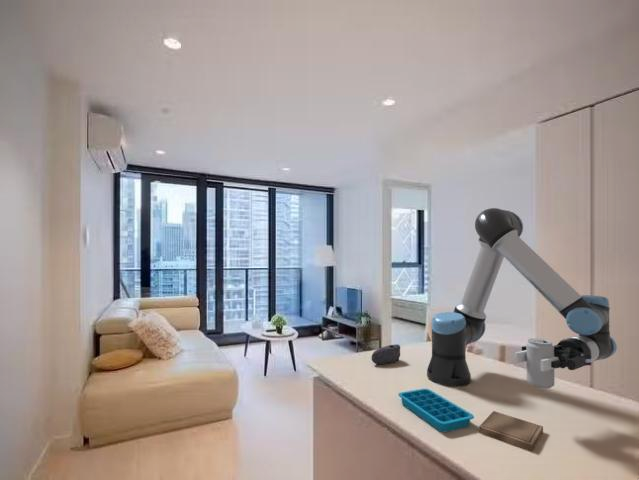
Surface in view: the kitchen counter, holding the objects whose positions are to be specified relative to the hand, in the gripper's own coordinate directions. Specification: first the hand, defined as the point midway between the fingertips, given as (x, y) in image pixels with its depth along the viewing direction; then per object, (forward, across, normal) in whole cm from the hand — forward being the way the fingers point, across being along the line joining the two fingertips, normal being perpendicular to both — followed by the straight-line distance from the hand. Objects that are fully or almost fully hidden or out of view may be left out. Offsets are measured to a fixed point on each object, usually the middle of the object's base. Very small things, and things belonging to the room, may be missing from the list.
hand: (528, 361), depth 91 cm
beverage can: (-5, 0, -7) cm, 9 cm away
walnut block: (+6, +1, -18) cm, 19 cm away
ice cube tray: (+17, +17, -18) cm, 30 cm away
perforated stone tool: (+2, +59, -18) cm, 62 cm away
